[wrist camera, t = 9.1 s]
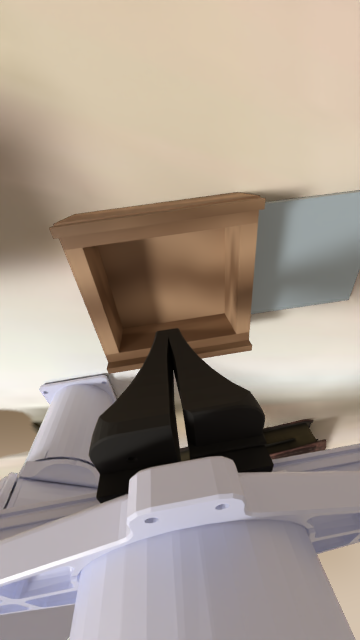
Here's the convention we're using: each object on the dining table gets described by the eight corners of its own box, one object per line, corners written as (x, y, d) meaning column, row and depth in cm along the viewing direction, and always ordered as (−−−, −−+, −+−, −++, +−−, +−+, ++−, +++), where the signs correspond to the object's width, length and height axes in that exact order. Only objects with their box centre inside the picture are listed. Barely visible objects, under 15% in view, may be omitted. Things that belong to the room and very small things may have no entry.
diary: (299, 460, 48) (313, 487, 44) (188, 486, 48) (191, 515, 44) (309, 412, 37) (330, 442, 33) (168, 445, 38) (170, 479, 34)
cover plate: (338, 293, 25) (348, 299, 24) (243, 307, 24) (249, 314, 23) (374, 187, 19) (389, 188, 18) (251, 203, 19) (258, 204, 18)
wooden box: (232, 320, 24) (251, 351, 20) (116, 338, 24) (109, 374, 20) (236, 192, 18) (265, 196, 13) (74, 214, 17) (48, 226, 13)
